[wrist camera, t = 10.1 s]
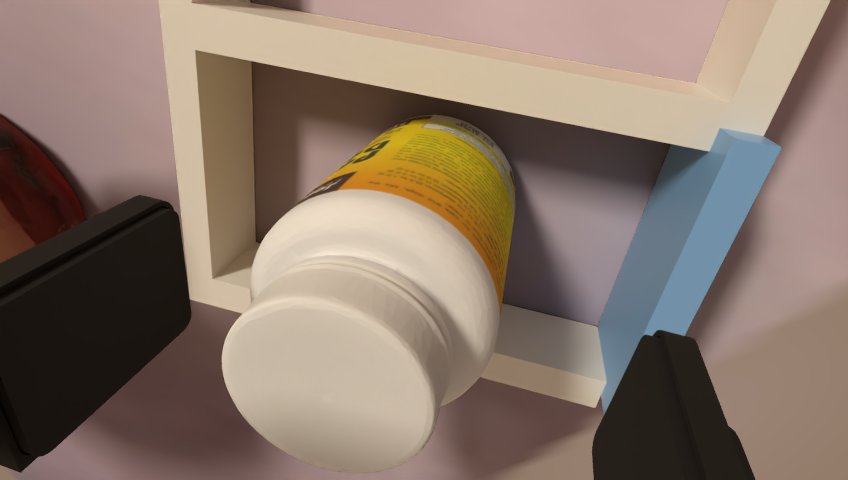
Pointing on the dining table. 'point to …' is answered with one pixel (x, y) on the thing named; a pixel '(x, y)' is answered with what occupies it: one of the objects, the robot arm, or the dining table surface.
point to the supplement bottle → (377, 298)
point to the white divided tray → (513, 92)
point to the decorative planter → (31, 195)
